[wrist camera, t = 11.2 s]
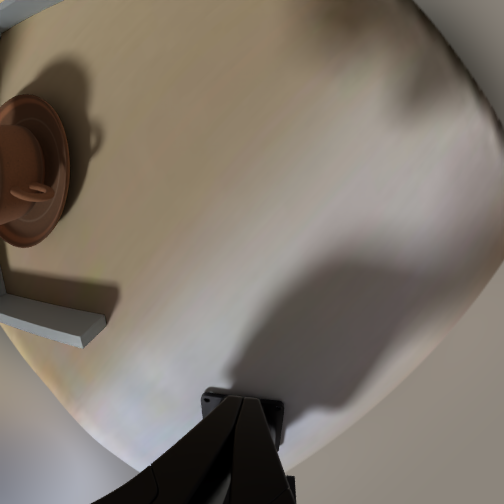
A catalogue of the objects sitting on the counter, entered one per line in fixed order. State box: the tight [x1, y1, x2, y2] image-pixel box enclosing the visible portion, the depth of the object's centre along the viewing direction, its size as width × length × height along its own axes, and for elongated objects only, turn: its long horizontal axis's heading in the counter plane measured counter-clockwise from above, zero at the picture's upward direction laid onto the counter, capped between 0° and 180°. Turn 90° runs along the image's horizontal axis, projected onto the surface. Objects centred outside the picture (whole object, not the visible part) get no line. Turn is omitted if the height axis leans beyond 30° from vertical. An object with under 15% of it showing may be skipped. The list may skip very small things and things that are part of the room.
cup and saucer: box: [0, 94, 70, 248], centre depth 17 cm, size 12×12×6 cm
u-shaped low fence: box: [0, 0, 106, 348], centre depth 18 cm, size 28×14×4 cm, turn 179°
